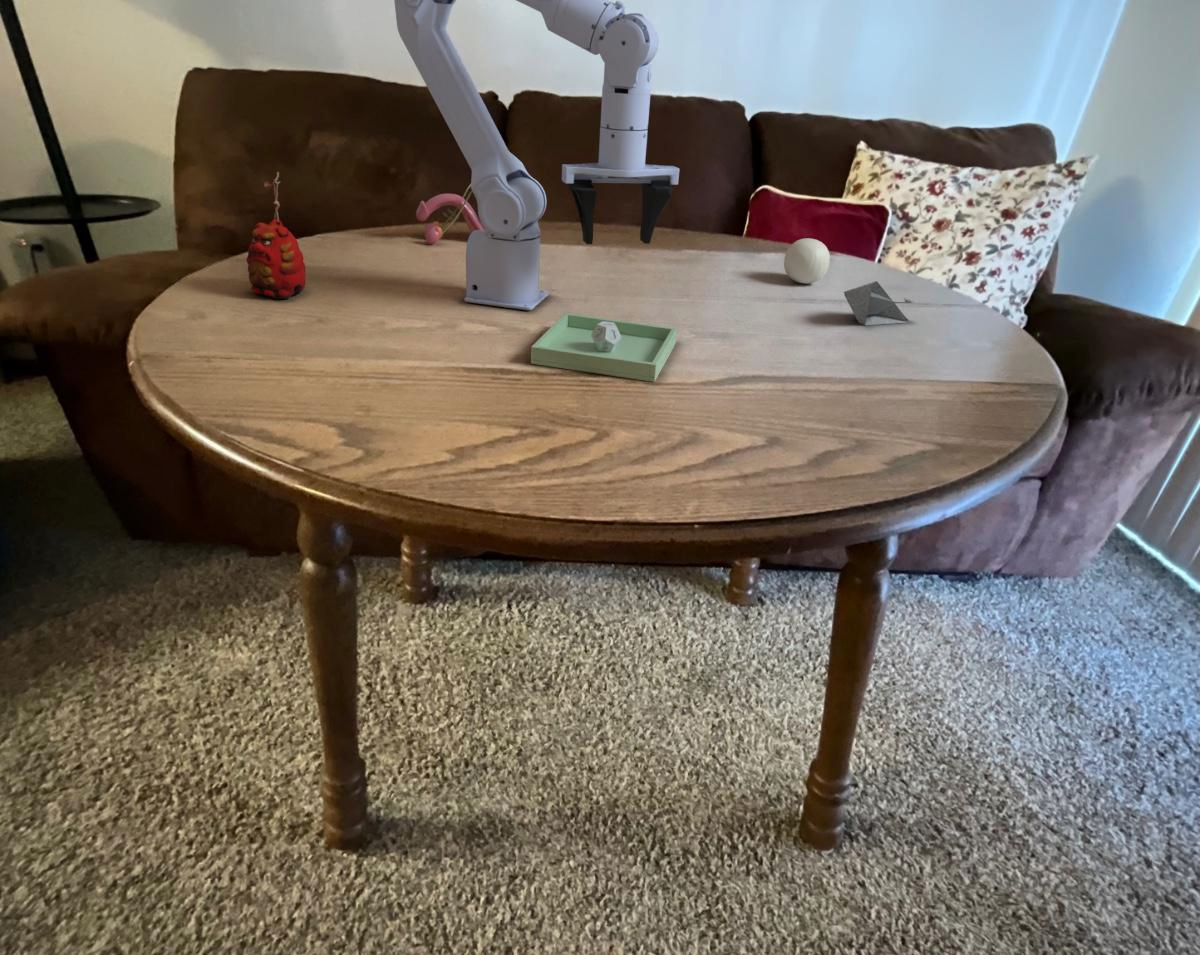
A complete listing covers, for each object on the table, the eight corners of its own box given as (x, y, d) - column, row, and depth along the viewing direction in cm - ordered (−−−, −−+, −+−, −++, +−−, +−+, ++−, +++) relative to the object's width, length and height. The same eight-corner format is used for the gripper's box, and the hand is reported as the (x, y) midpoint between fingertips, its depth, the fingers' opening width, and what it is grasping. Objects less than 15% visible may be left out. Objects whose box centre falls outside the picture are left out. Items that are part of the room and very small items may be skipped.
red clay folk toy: (238, 294, 110) (220, 174, 103) (275, 282, 116) (260, 167, 109) (285, 304, 108) (270, 181, 101) (321, 290, 114) (309, 174, 107)
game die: (587, 344, 100) (588, 319, 98) (617, 343, 101) (619, 319, 99) (593, 354, 97) (594, 329, 96) (624, 354, 98) (626, 329, 96)
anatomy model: (403, 214, 143) (461, 145, 140) (464, 267, 150) (521, 203, 147) (406, 228, 134) (468, 155, 131) (471, 284, 141) (532, 216, 138)
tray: (530, 363, 95) (531, 346, 94) (564, 328, 106) (564, 312, 105) (654, 382, 92) (656, 364, 91) (675, 343, 103) (677, 328, 102)
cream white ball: (832, 281, 133) (840, 238, 130) (816, 291, 127) (824, 246, 124) (791, 273, 136) (798, 231, 133) (774, 282, 131) (781, 238, 127)
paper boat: (873, 299, 121) (936, 297, 115) (863, 341, 121) (925, 342, 114) (835, 262, 113) (900, 258, 106) (823, 307, 112) (888, 306, 106)
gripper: (669, 125, 107) (659, 234, 113) (557, 122, 103) (554, 235, 109) (689, 132, 101) (678, 247, 107) (571, 129, 97) (567, 248, 103)
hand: (616, 242), depth 108 cm, fingers open, 7 cm apart
